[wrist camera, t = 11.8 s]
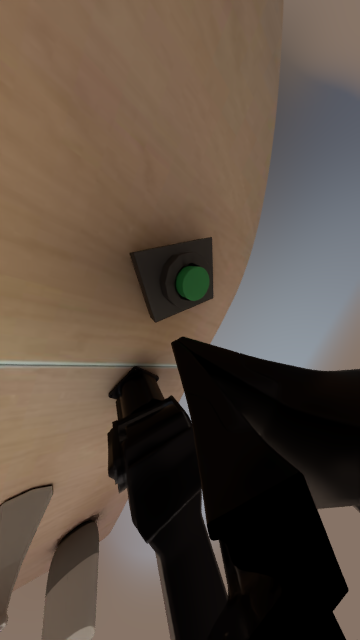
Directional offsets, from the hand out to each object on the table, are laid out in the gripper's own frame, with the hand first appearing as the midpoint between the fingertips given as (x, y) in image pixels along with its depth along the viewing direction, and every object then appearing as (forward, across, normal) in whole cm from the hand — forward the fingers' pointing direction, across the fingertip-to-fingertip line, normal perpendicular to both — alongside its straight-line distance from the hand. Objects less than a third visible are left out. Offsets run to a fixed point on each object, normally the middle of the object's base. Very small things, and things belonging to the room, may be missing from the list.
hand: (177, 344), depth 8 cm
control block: (+12, -7, 0) cm, 14 cm away
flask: (+12, +29, +27) cm, 41 cm away
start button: (+9, -7, 0) cm, 11 cm away
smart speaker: (+12, +36, +53) cm, 65 cm away
